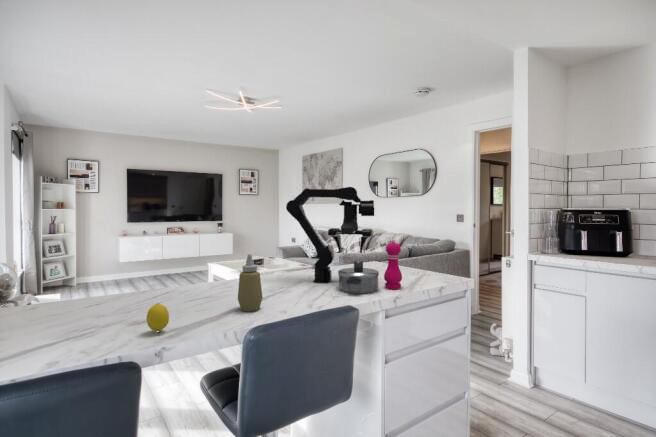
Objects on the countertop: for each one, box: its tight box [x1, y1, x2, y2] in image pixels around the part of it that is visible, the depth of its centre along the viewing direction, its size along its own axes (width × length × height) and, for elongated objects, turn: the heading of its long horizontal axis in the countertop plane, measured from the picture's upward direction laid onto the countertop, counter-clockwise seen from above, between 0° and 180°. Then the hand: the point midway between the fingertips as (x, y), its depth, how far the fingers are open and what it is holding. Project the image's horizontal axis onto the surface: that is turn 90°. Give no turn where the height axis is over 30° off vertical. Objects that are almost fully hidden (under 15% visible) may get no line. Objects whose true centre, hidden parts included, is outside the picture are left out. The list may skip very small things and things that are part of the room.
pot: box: [338, 275, 379, 295], centre depth 149 cm, size 15×21×6 cm
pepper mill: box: [383, 238, 403, 291], centre depth 151 cm, size 7×7×20 cm
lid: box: [337, 260, 380, 279], centre depth 149 cm, size 16×16×6 cm
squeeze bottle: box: [237, 254, 263, 312], centre depth 122 cm, size 8×8×18 cm
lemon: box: [146, 302, 170, 332], centre depth 101 cm, size 6×6×8 cm
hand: (350, 252), depth 162 cm, fingers open, 9 cm apart
